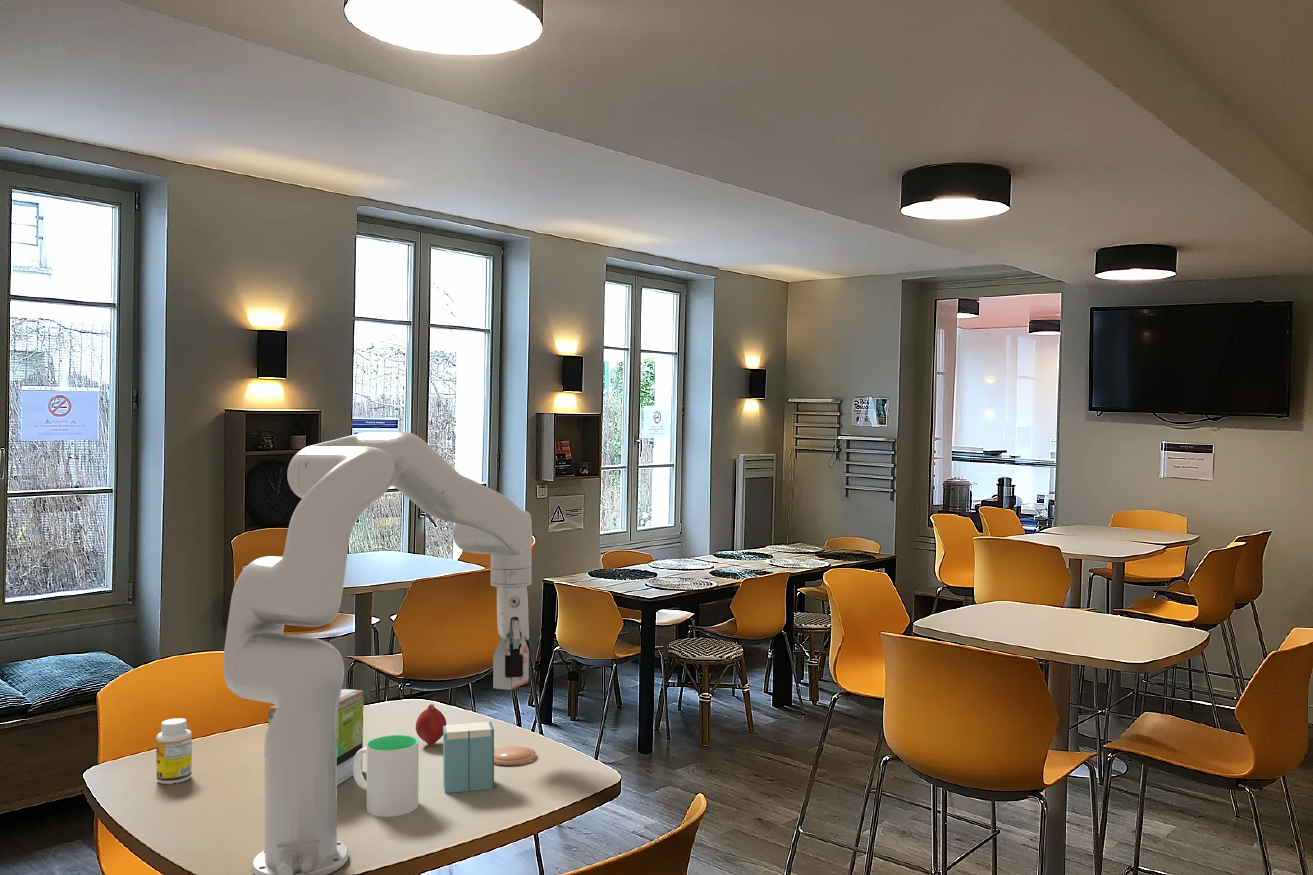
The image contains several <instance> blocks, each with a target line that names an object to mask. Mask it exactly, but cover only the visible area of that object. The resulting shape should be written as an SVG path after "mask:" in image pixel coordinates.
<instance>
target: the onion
mask: <svg viewBox="0 0 1313 875" xmlns="http://www.w3.org/2000/svg"><path fill="white" fill-rule="evenodd" d="M446 725H447V720H446V717H445V716H444V714H443V713H442V711H440V710H439V709H437V708H436V707H435V706H434V704H433V703H430V704H428V707H427V708H426V709H424V710H423V711H422V712H421V713H420V714H419V715H418V716H417V719H416V722H415V732H416V734H417V736H418V737H419V738H420V739H421V740H422V741H424V742H425V743H426V744H427V745H428V746H433V745H435V744H436V743H438V741H439V740H440V739H441V738H442V737H443V726H446Z"/></svg>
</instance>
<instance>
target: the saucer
mask: <svg viewBox="0 0 1313 875" xmlns="http://www.w3.org/2000/svg"><path fill="white" fill-rule="evenodd" d="M535 757H536V758H537V752H536V751H535V750H534V749H532V748H530V747H525V746H504V747H498V748H494V766H499V765H516V766H521V765H520V764H523V765H525V764H524V763H527V762H529V761H531V760H533V761H534V760H536V758H535ZM529 763H530V762H529ZM527 764H528V763H527Z"/></svg>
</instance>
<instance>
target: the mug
mask: <svg viewBox="0 0 1313 875" xmlns="http://www.w3.org/2000/svg"><path fill="white" fill-rule="evenodd" d="M363 754H366V779H365V778H364V776H363V772H362V770H361V758H362V755H363ZM353 777H354V778H353V779H354V780H355V781H354V782H356V784H357V785H358V787H360V788H361V789H362V790H364V791H366V811H367V813H368V814H370V815H372V816H376V817H384V818H385V817H386V818H387V817H389V818H390V817H397V816H403V815H406V814H409V813H412V812H414V811H415V810H417V809H418V807H419V738H417V737H416V736H412V735H407V734H405V735H404V734H402V735H401V734H394V735H393V734H392V735H384V736H379V737H377V738H372V739H371V740H368V742H367V743H366V746H365V747H364V746H363V748H362V749H360V750H359V751H358V752H357V753H356V754H355V756H354V760H353Z"/></svg>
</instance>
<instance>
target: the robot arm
mask: <svg viewBox="0 0 1313 875" xmlns="http://www.w3.org/2000/svg"><path fill="white" fill-rule="evenodd" d="M286 473H287V476H286V477H287V482H288V485H289V487H290V490H291V491H292V492H293V494H295V495H296V496H297V497H298V498H301V500H300V501H299V502H298V504H297V505H296V507H295V509H294V511H293V513H292V515H291V518H290V520H289V523H288V524H289V525H288V529H287V535H286V539H285V540H286V541H285V544H284V545H285V546H284V549H283V550H284V551H283V555H282V556H280V555H278V556H277V555H275V556H274V555H270V556H268V555H267V556H262V557H259V558H255V559H254V560H252V561H251V562H249V563H248V564H247V565H246V566H245V567H244V569H243V570H242V571H241V572H240V574H239V575H238V577H237V579H236V581H235V583H234V587H233V590H232V593H231V599H230V607H229V612H228V619H227V627H226V634H225V643H224V650H223V659H222V670H223V671H222V672H223V678H224V682H225V685H226V686H227V688H228V689H229V691H230V692H231V693H233V694H235V695H236V696H238V697H240V698H242V699H247V700H250V701H257V702H263V703H269V704H273V705H276V704H277V709H276V712H275V714H274V717H273V719H272V720H271V722H270V725H269V727H268V726H267V729H266V732H265V733H266V734H265V736H264V744H263V745H264V746H263V747H264V749H263V750H264V751H263V752H264V754H263V757H264V850H262V851H260V852H259V853H258V854H257V855H256V856H255V857H254V859H253V861H252V872H253V874H254V875H330V874H331V873H332V874H333V873H334V872H335V871H337V870H339V869H340V868H342V867H343V866H344V865H345V864H346V863H347V861H348V860H349V848H348V846H347V845H346V844H345V843H343V841H340V840H338V831H337V830H338V828H337V827H338V823H337V822H338V818H337V817H338V814H337V813H338V809H337V808H338V807H337V806H338V805H337V804H338V801H337V800H338V798H337V797H338V785H337V714H338V705H339V699H340V694H341V689H343V684H344V677H345V662H344V659H343V656H342V655H341V653H340V651H339V650H338V649H337V648H336V647H335V646H334V645H333V644H331V643H329V642H328V641H326V640H323V639H319V638H317V637H312V636H304V635H296V634H285V633H284V632H285V625H286V626H287V625H288V626H294V627H308V628H309V627H310V628H311V627H312V628H315V627H317V628H318V627H321V626H326V625H327V624H329V623H331V622H332V621H333V620H334V619H335V618H336V617H337V615H338V613H339V610H340V608H341V603H342V599H343V598H342V597H343V592H344V583H345V577H346V576H345V575H346V567H347V558H348V552H349V545H350V539H351V534H352V532H353V528H354V525H355V524H356V522H357V520H358V519H359V517H361V515H362V513H364V511H365V510H366V509H367V508H368V507H369V506H370V505H372V504H373V503H374V502H376V501H377V500H378V499H380V498H381V497H383V496H384V494H386V492H387V491H388V490H389V488H390V487H394V488H395V489H397V490H398V491H399V492H400V493H401V494H403V495H404V496H405V497H406V498H408V499H409V500H410V501H411V502H412V503H414V504H415V505H416V506H417V507H418V508H419V509H420V510H422V511H423V512H424V513H425V514H427V515H428V516H431V517H434V518H436V519H439V520H442V521H446V522H449V523H453V524H454V525H453V529H452V538H453V541H454V544H455V545H456V546H457V547H458V548H459V549H460V550H462V551H463V552H466V553H471V554H480V555H481V554H482V555H490V586H491V587H496V624H497V632H498V635H499V636H500V637H501V635H502V639H503V640H504V641H506V652H507V655H505V676H506V678H511V677H522V676H523V654H522V639H521V636H522V637H523V638H524V639H525V641H528V640H529V638H530V628H529V627H530V626H529V625H530V622H529V620H530V619H529V600H528V599H529V598H528V597H529V596H528V588H527V587H528V586H531V585H532V564H533V563H532V562H533V561H532V558H533V556H532V552H533V551H532V541H533V540H532V538H533V529H532V525H533V524H532V523H533V522H532V521H533V520H532V515H531V514H530V512H528V511H527V510H525V509H524V510H523V509H521V508H520V507H519V506H518V505H516V504H515V503H514V501H512V500H511V499H510V498H509V497H507V496H505V495H503V493H500V492H499V491H497V490H494V489H492V488H490V487H487V486H485V485H483V484H481V483H480V482H477V481H475V480H473V479H471V478H469V477H466V476H464V475H461V473H459V472H458V471H457V470H456V469H455V468H453V466H451V464H449V463H448V462H447V461H446V460H445V459H444V458H443V457H442V456H441V455H440V454H439V453H438V452H437V451H435V450H434V449H433V448H432V447H431V446H430V445H429V444H428V443H427V442H426V441H425V440H423V439H422V438H421V437H420V436H418V435H416V434H415V433H412V432H406V431H366V432H359V433H356V434H352V435H347V436H344V437H339V438H336V439H332V440H327V441H324V442H320V443H316V444H312V445H308V446H306V447H303V448H302V449H301V450H299V451H297V453H296V454H294V456H292V458H291V460H290V462H289V465H288V467H287V472H286ZM508 637H512V638H508ZM510 643H511V644H510Z"/></svg>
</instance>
